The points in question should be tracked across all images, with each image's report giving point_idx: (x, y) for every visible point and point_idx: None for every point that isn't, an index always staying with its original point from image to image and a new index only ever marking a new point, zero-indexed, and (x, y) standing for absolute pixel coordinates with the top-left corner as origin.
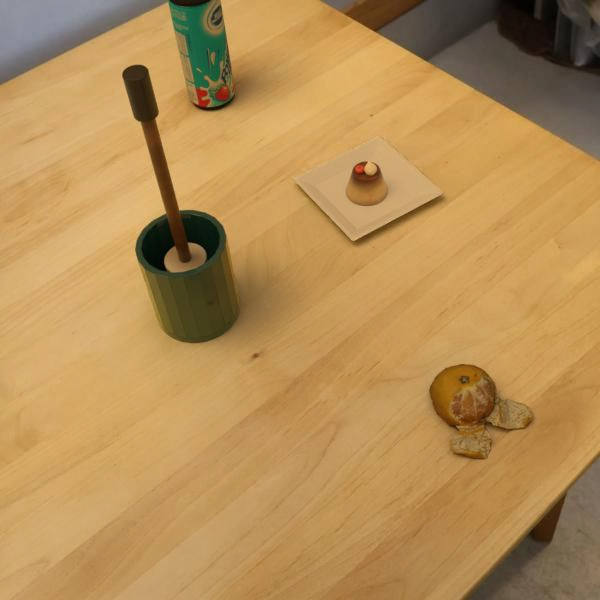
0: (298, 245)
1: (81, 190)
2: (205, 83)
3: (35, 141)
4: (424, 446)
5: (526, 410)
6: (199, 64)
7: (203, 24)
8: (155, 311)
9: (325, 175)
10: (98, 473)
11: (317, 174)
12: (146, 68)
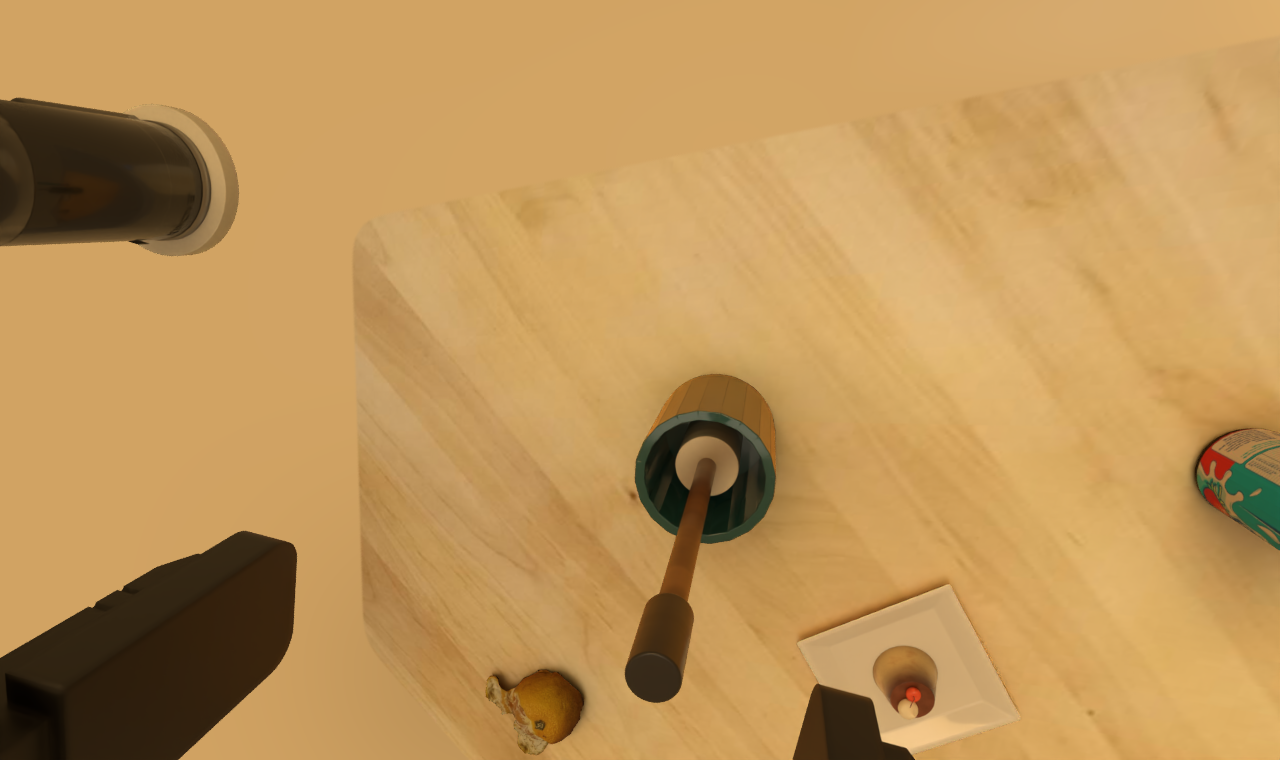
0: (814, 567)
1: (1020, 232)
2: (1231, 487)
3: (1207, 115)
4: (504, 648)
5: (536, 750)
6: (1263, 501)
7: None
8: (687, 387)
9: (950, 627)
10: (484, 310)
11: (952, 618)
12: (661, 700)
